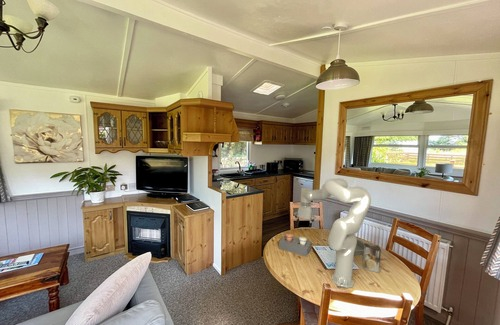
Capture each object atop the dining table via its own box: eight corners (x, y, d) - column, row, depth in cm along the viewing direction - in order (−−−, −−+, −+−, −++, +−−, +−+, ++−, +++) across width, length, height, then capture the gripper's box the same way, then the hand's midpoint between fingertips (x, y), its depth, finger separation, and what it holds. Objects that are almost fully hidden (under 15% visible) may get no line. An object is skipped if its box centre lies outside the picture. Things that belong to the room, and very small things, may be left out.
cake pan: (358, 242, 181) (359, 237, 180) (372, 257, 157) (372, 252, 156) (329, 239, 183) (329, 235, 183) (338, 255, 159) (338, 249, 158)
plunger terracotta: (291, 244, 164) (291, 236, 163) (284, 242, 167) (284, 234, 166) (293, 241, 169) (293, 234, 168) (286, 239, 172) (287, 232, 171)
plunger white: (305, 248, 159) (305, 240, 158) (297, 246, 161) (298, 238, 161) (306, 245, 164) (307, 237, 163) (299, 243, 166) (300, 235, 166)
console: (306, 256, 154) (307, 249, 154) (279, 248, 165) (279, 241, 164) (311, 248, 166) (311, 241, 166) (285, 241, 177) (285, 234, 176)
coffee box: (377, 267, 144) (379, 245, 142) (379, 272, 138) (381, 249, 136) (362, 264, 147) (364, 242, 146) (363, 269, 141) (365, 246, 140)
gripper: (318, 204, 158) (316, 226, 160) (295, 200, 166) (294, 221, 168) (315, 207, 151) (314, 230, 153) (292, 203, 160) (291, 224, 162)
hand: (303, 225), depth 161 cm, fingers open, 9 cm apart
